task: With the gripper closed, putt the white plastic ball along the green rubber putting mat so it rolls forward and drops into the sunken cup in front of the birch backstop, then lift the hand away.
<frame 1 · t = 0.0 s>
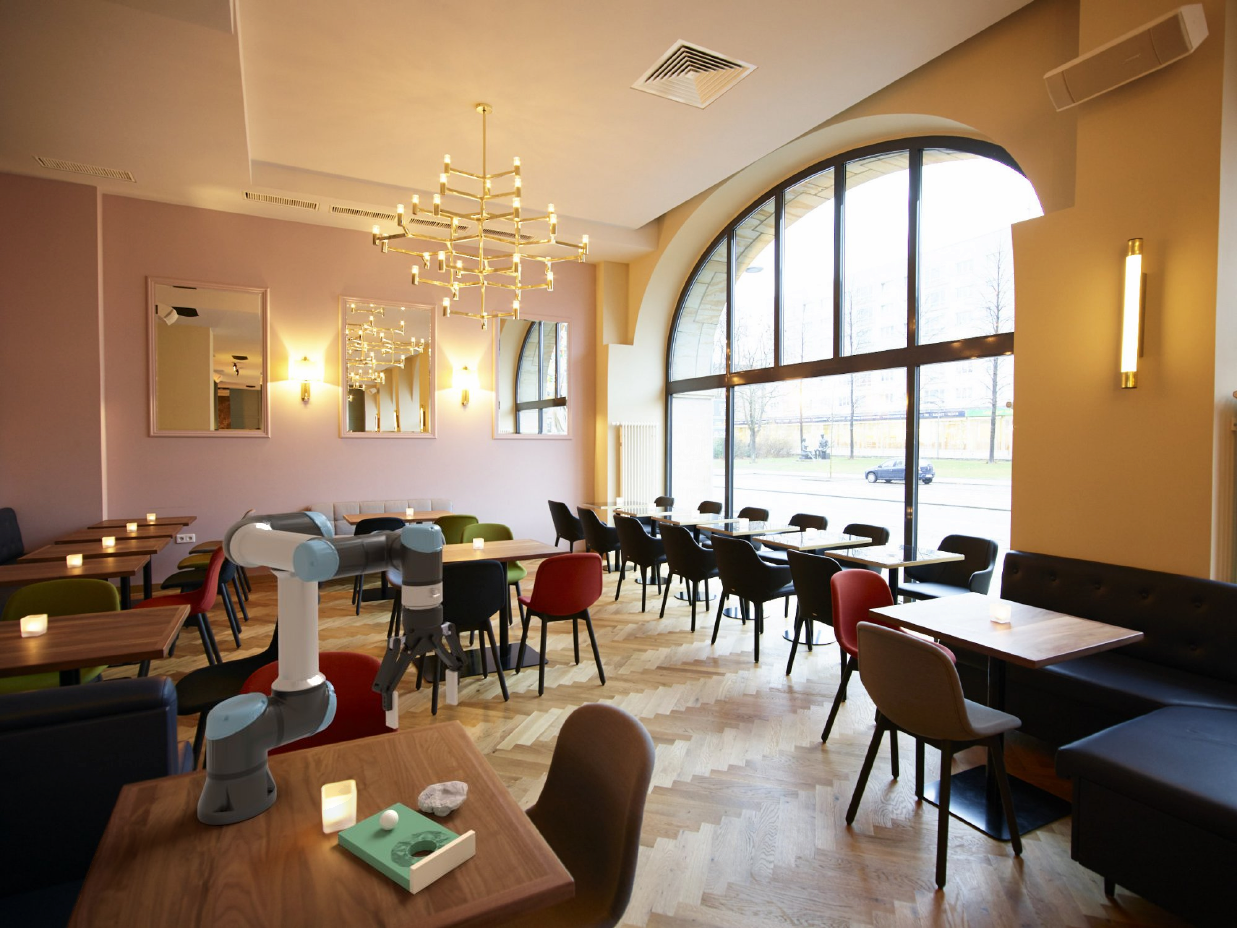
hand: (423, 714, 122), 28 cm above the table, fingers open, 13 cm apart
ball: (389, 819, 128), point 4 cm above the table, touching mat
fossil: (445, 809, 140), on the table
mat: (403, 847, 125), on the table
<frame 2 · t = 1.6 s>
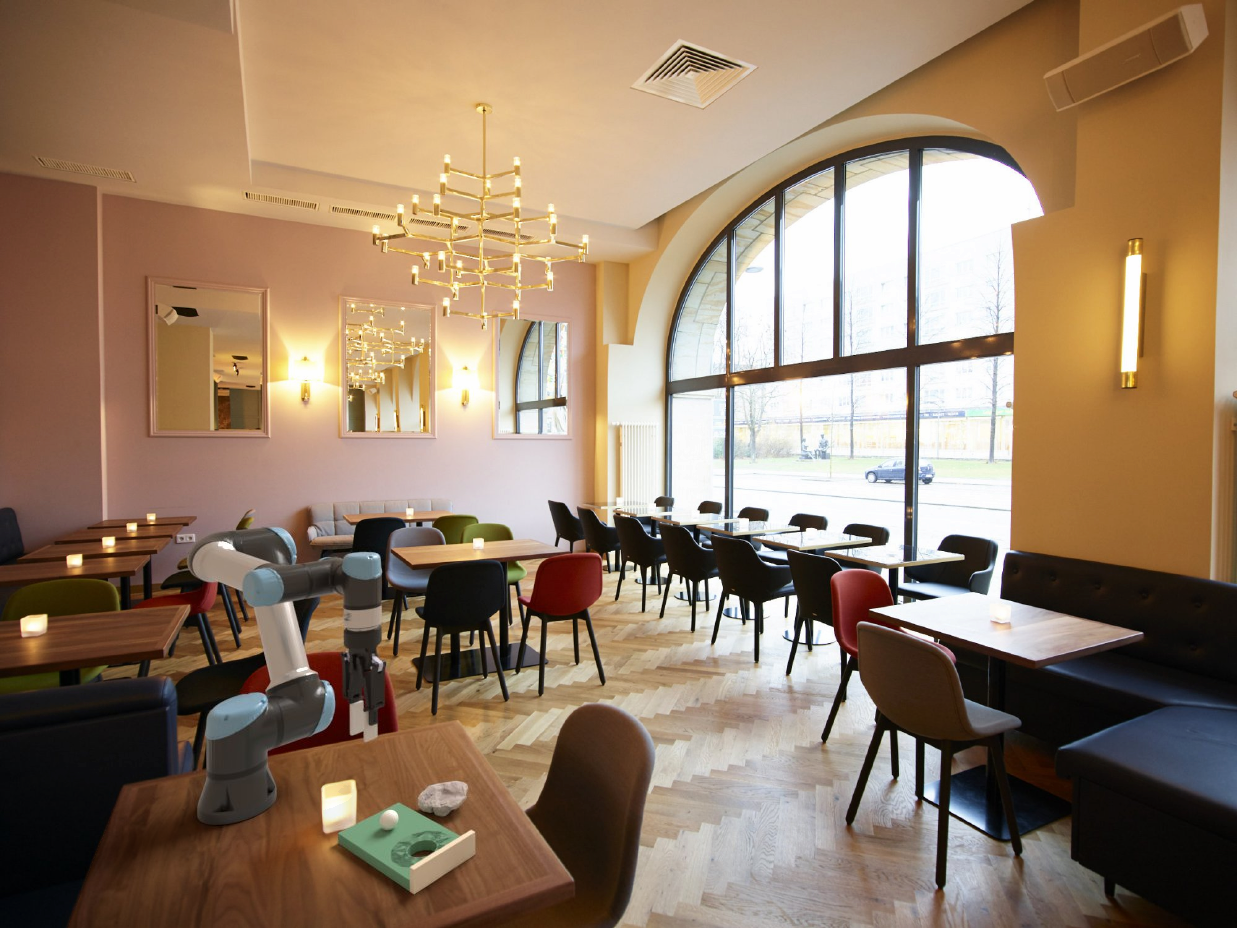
hand: (363, 735, 133), 19 cm above the table, fingers open, 4 cm apart
nothing on the table moved.
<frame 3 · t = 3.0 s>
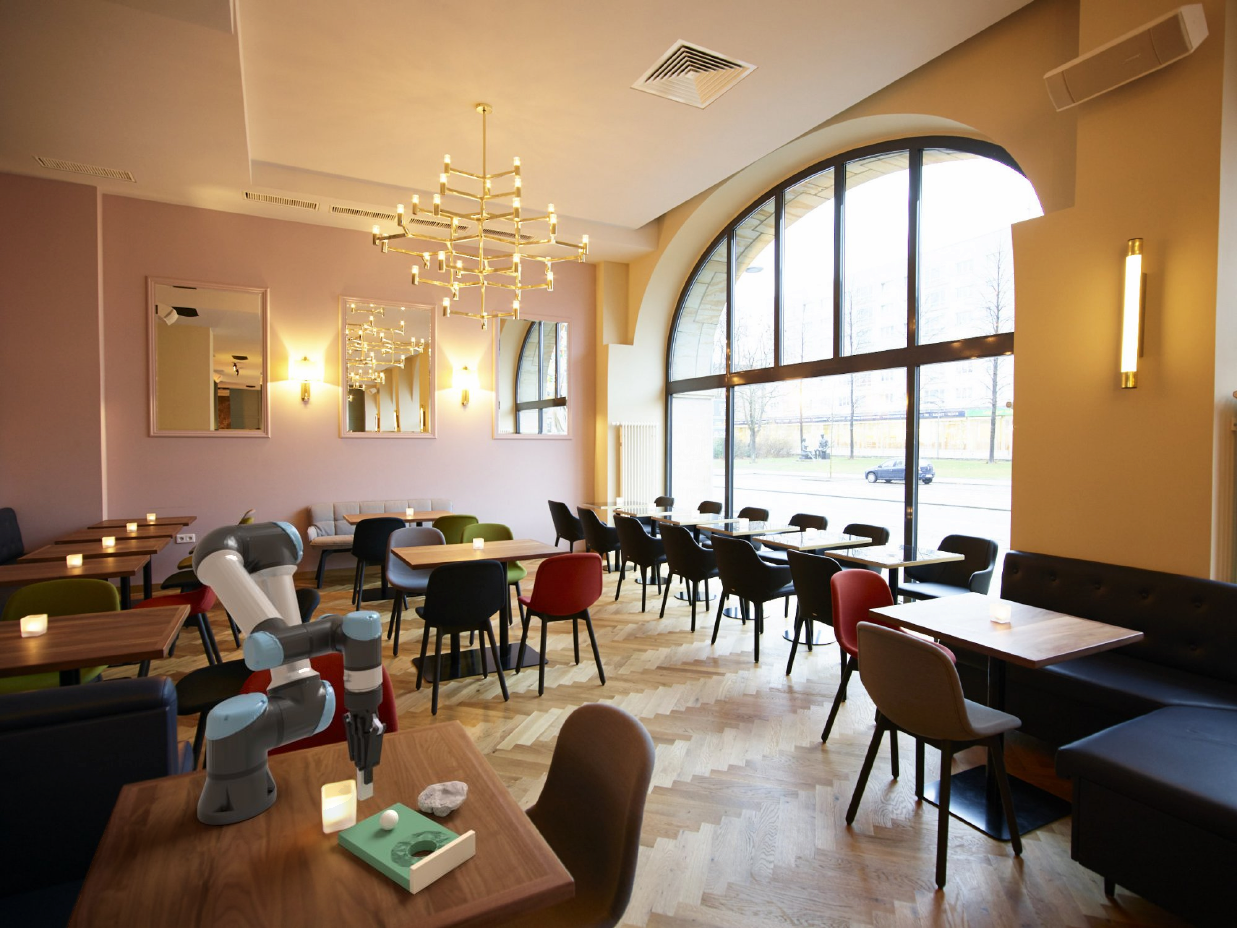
hand: (365, 796, 133), 6 cm above the table, fingers closed
nothing on the table moved.
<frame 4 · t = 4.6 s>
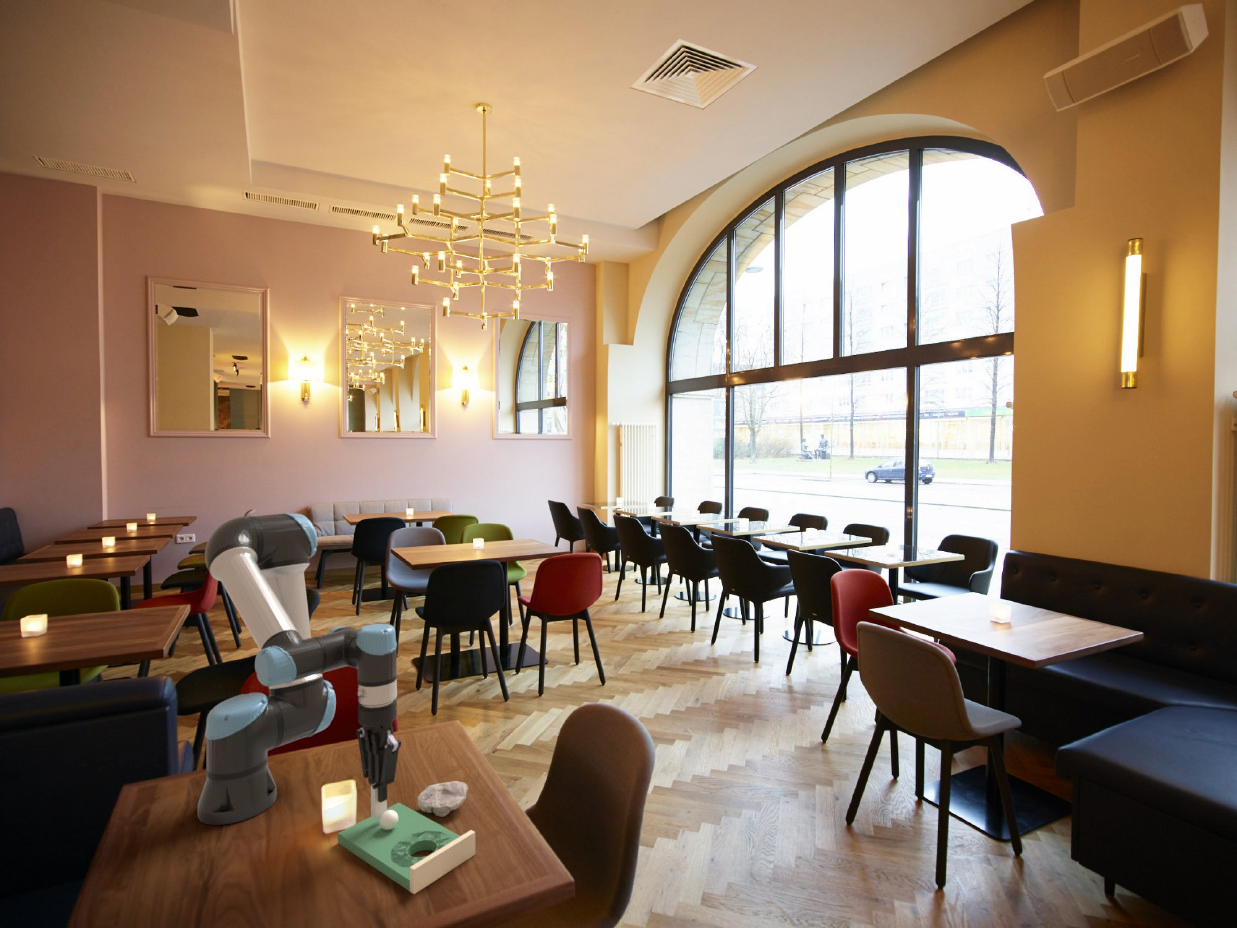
hand: (379, 814, 130), 4 cm above the table, fingers closed
nothing on the table moved.
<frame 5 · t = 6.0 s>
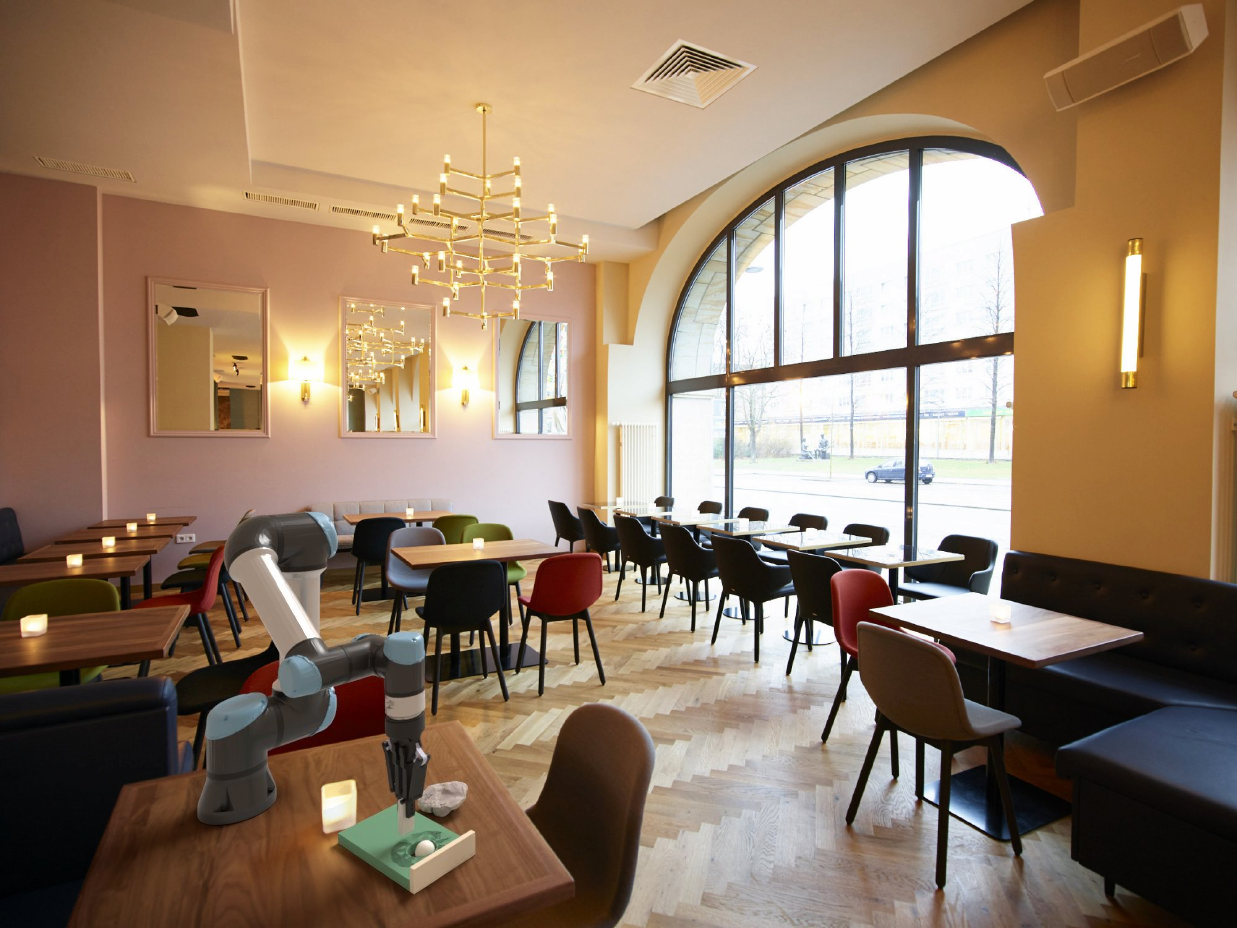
hand: (406, 830, 125), 4 cm above the table, fingers closed
ball: (424, 850, 121), point 2 cm above the table, tilted 37°
everything else where it was.
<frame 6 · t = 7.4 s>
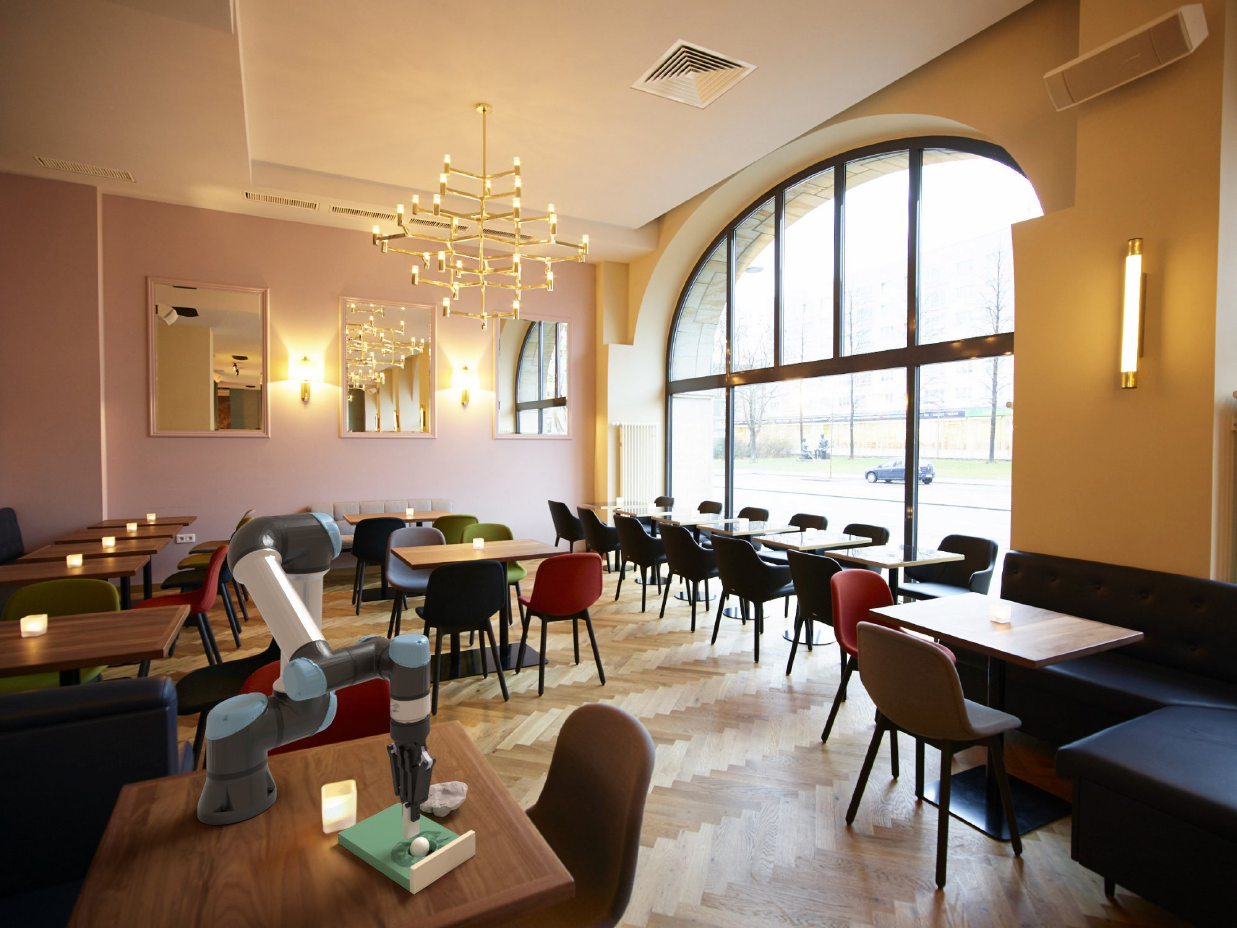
hand: (411, 834, 124), 3 cm above the table, fingers closed
ball: (419, 847, 122), point 2 cm above the table, tilted 16°
everything else where it was.
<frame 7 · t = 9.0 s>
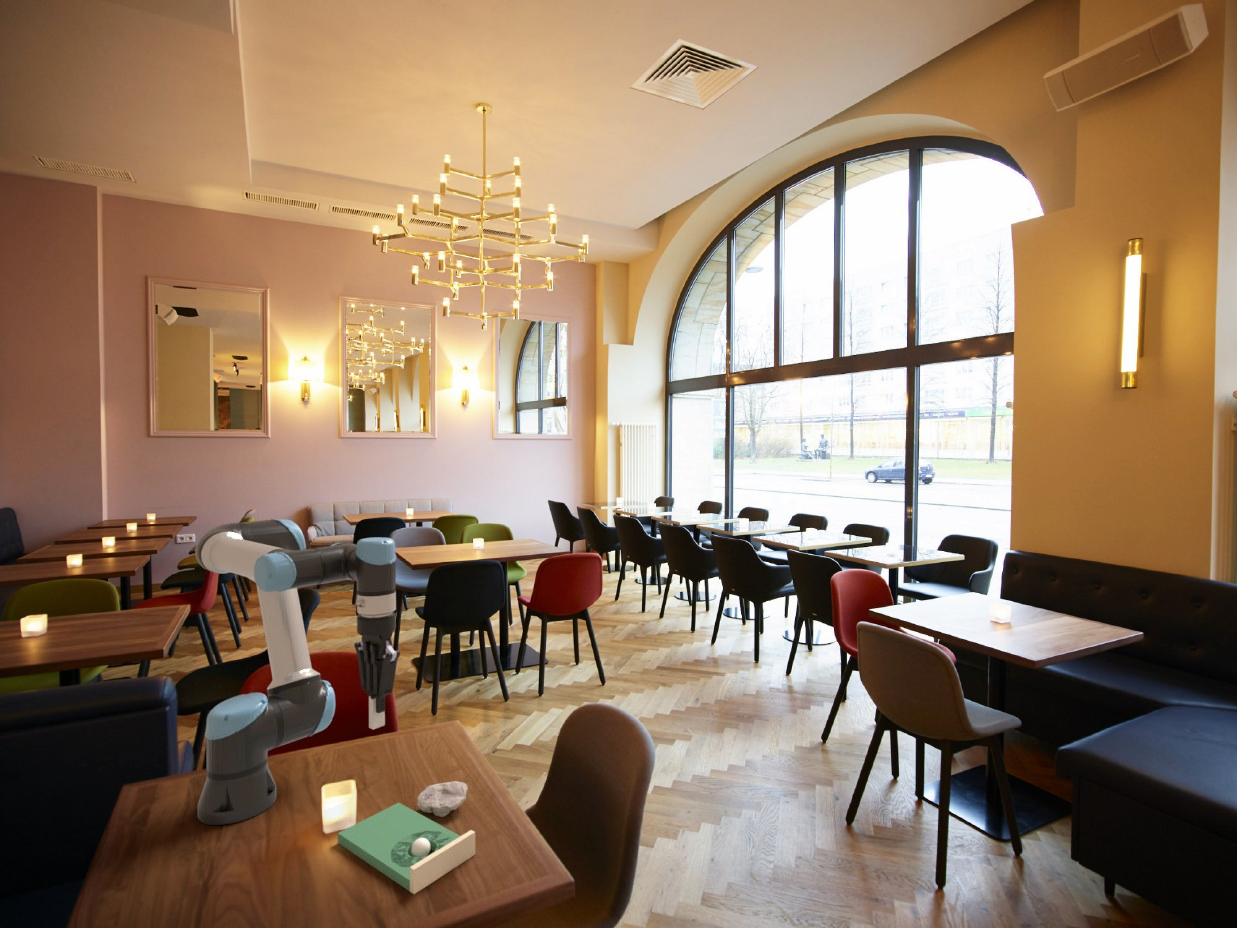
hand: (376, 726, 131), 22 cm above the table, fingers closed
ball: (420, 848, 122), point 2 cm above the table
everything else where it was.
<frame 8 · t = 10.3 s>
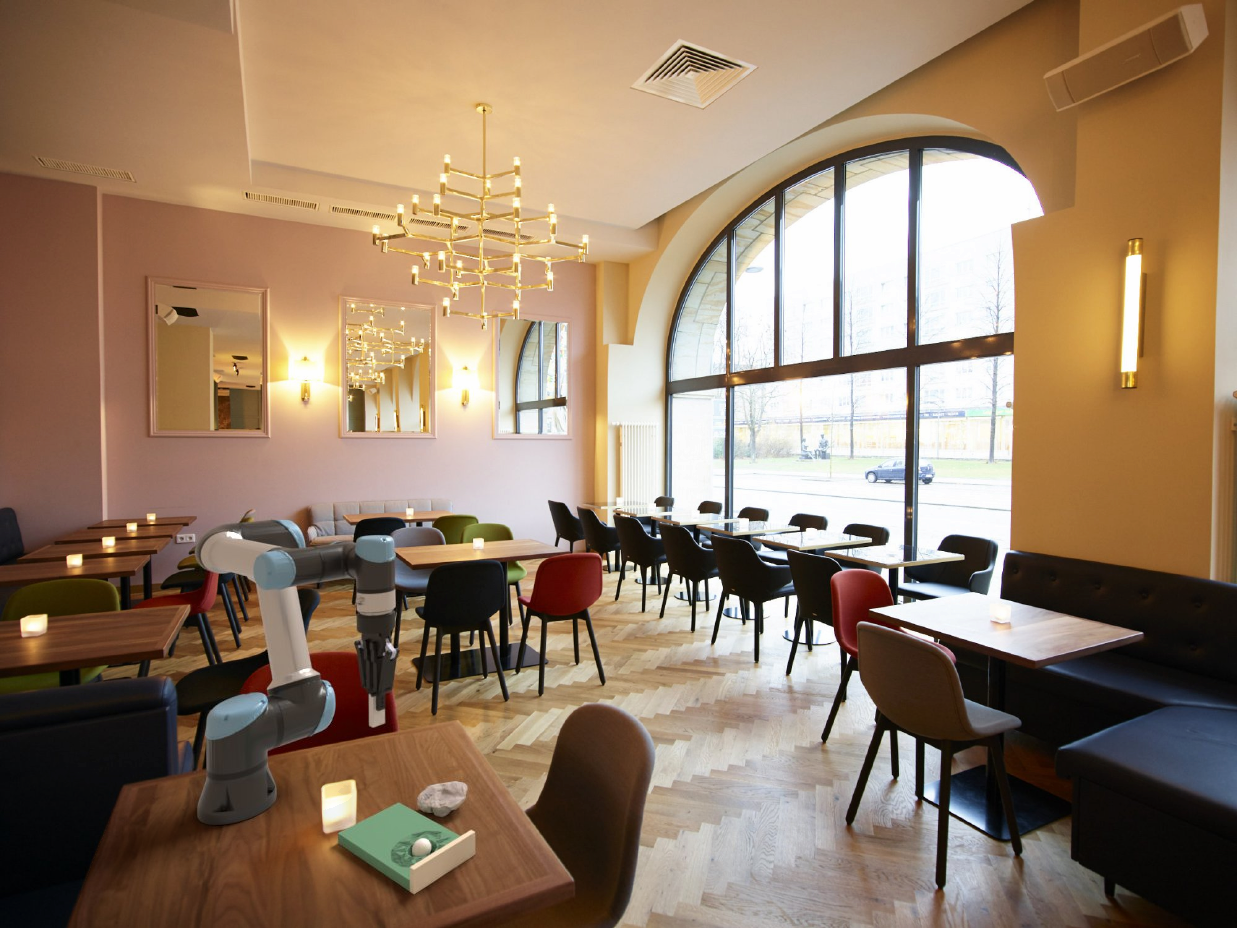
hand: (377, 724, 130), 22 cm above the table, fingers closed
nothing on the table moved.
at the end: ball 0.2 cm from the target spot in the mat, point 1.8 cm above the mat's base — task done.
